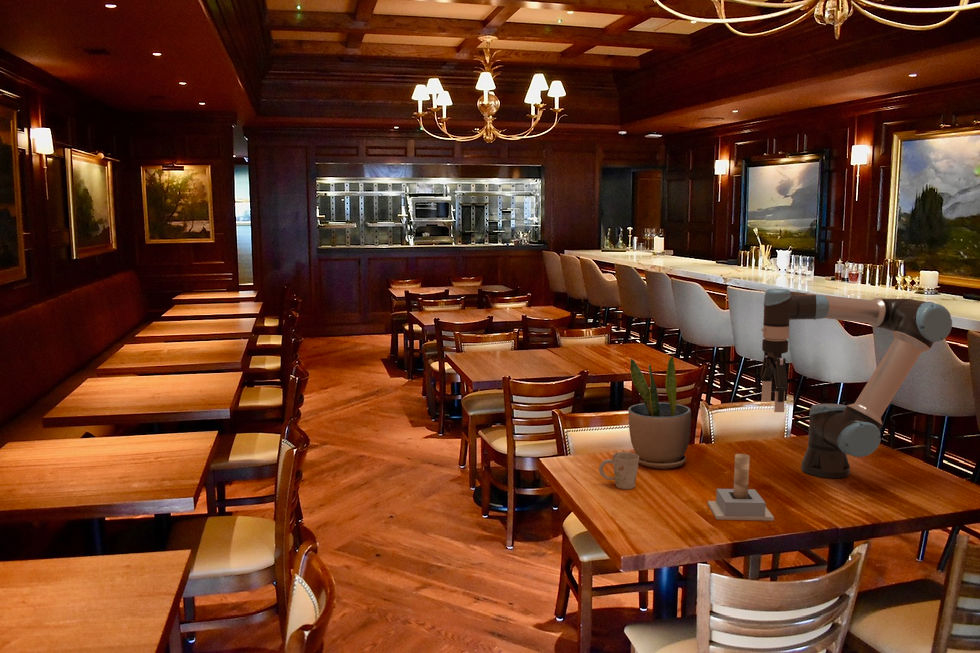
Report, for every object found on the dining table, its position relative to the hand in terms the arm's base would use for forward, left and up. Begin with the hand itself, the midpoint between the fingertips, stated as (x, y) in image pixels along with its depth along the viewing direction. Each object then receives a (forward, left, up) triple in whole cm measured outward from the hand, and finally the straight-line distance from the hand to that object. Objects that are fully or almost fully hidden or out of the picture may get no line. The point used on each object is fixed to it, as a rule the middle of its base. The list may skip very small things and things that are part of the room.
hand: (772, 406), depth 247 cm
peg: (+14, +21, -26) cm, 36 cm away
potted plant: (+31, -25, -27) cm, 48 cm away
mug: (+47, 0, -27) cm, 54 cm away
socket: (+14, +21, -27) cm, 37 cm away
